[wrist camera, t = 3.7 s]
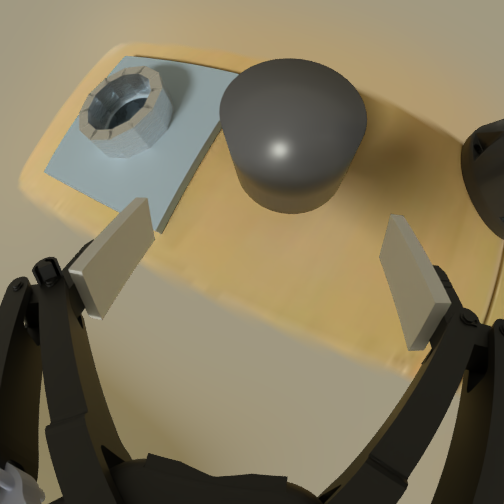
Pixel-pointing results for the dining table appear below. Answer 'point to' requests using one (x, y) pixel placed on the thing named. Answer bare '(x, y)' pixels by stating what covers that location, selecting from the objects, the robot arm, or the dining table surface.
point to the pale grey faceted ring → (127, 112)
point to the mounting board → (160, 154)
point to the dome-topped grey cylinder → (292, 132)
